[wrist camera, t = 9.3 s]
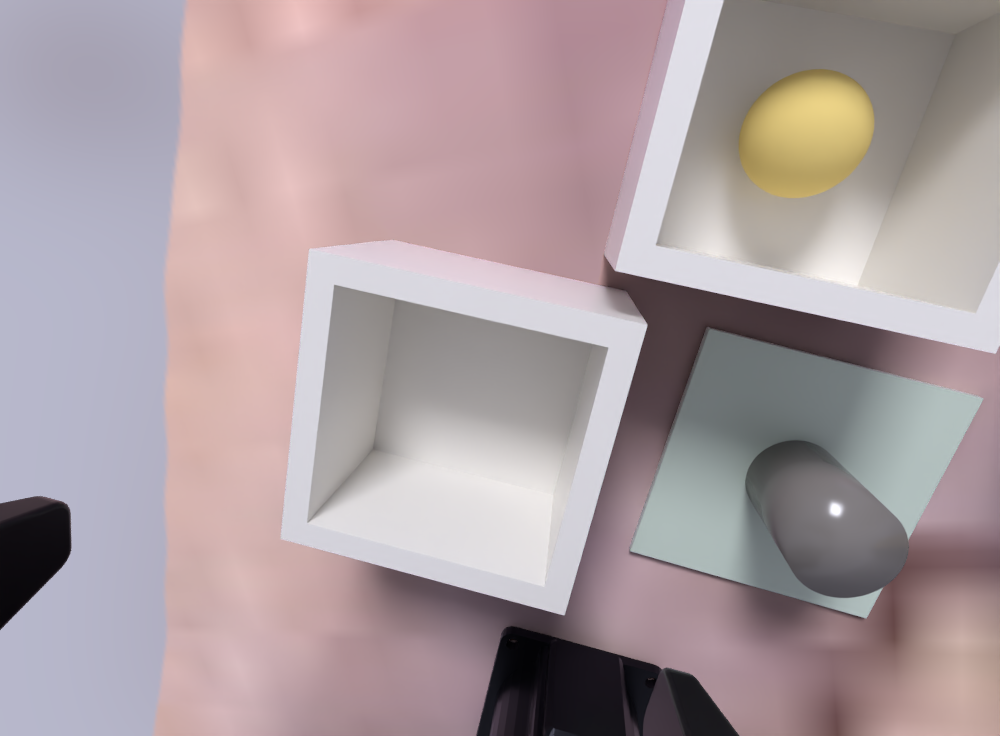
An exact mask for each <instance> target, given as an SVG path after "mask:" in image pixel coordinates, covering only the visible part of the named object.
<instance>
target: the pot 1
mask: <svg viewBox="0 0 1000 736" xmlns="http://www.w3.org/2000/svg"><path fill="white" fill-rule="evenodd" d="M647 326H648V325H647V323H646V321H645V320H644V318H643V317H642V315H641V314H640V312H639V310H638V309H637V307H636V306H635V304H634V303H633V301H632V299H631V298H630V296H629V295H628V293H627V292H626V291H624V290H619V289H615V288H610V287H606V286H601V285H596V284H592V283H587V282H583V281H578V280H574V279H569V278H565V277H560V276H556V275H551V274H547V273H542V272H537V271H533V270H528V269H524V268H519V267H515V266H510V265H506V264H501V263H497V262H492V261H488V260H483V259H478V258H474V257H469V256H465V255H460V254H456V253H451V252H447V251H442V250H438V249H433V248H429V247H424V246H419V245H415V244H410V243H406V242H401V241H397V240H385V241H376V242H367V243H358V244H349V245H340V246H331V247H322V248H313V249H309V256H308V266H307V276H306V287H305V297H304V307H303V317H302V327H301V337H300V347H299V357H298V367H297V377H296V387H295V397H294V407H293V418H292V428H291V438H290V448H289V458H288V468H287V478H286V488H285V498H284V508H283V518H282V528H281V539H283V540H287V541H290V542H294V543H298V544H301V545H305V546H309V547H313V548H316V549H320V550H324V551H327V552H331V553H335V554H338V555H342V556H346V557H350V558H353V559H357V560H361V561H364V562H368V563H372V564H375V565H379V566H383V567H386V568H390V569H394V570H398V571H401V572H405V573H409V574H412V575H416V576H420V577H423V578H427V579H431V580H435V581H438V582H442V583H446V584H449V585H453V586H457V587H460V588H464V589H468V590H472V591H475V592H479V593H483V594H486V595H490V596H494V597H497V598H501V599H505V600H508V601H512V602H516V603H520V604H523V605H527V606H531V607H534V608H538V609H542V610H545V611H549V612H553V613H557V614H560V615H564V616H565V612H566V609H567V605H568V602H569V598H570V595H571V591H572V588H573V584H574V581H575V577H576V574H577V570H578V567H579V563H580V560H581V556H582V553H583V549H584V546H585V542H586V539H587V535H588V532H589V528H590V525H591V521H592V518H593V514H594V511H595V507H596V504H597V500H598V497H599V493H600V490H601V486H602V483H603V479H604V476H605V472H606V469H607V465H608V462H609V458H610V455H611V451H612V448H613V444H614V441H615V437H616V434H617V430H618V427H619V423H620V420H621V416H622V413H623V409H624V406H625V402H626V399H627V395H628V392H629V388H630V385H631V381H632V378H633V374H634V371H635V367H636V364H637V360H638V357H639V353H640V350H641V346H642V343H643V339H644V336H645V333H646V329H647Z"/></svg>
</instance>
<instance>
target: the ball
mask: <svg viewBox="0 0 1000 736" xmlns="http://www.w3.org/2000/svg"><path fill="white" fill-rule="evenodd" d="M873 132H874V111H873V107H872V103H871V101H870V98H869V96H868V95H867V93H866V91H865V90H864V89H863V88H862V86H861V85H860V84H859V83H858V82H856V81H855V80H854V79H852V78H851V77H849V76H847V75H845V74H843V73H840V72H837V71H833V70H827V69H812V70H805V71H801V72H797V73H794V74H792V75H789V76H787V77H785V78H783V79H781V80H779V81H778V82H776V83H774V84H773V85H772V86H770V87H769V88H768V89H767V90H766V91H764V92H763V93H762V94H761V95H760V96H759V97H758V99H757V100H756V101H755V102H754V103H753V105H752V106H751V108H750V109H749V111H748V113H747V115H746V117H745V119H744V121H743V124H742V127H741V131H740V135H739V143H738V144H739V157H740V161H741V164H742V167H743V169H744V171H745V173H746V174H747V176H748V177H749V178H750V180H751V181H752V182H753V183H754V184H755V185H757V186H758V187H759V188H761V189H762V190H764V191H765V192H767V193H770V194H772V195H775V196H779V197H785V198H803V197H809V196H813V195H816V194H819V193H822V192H825V191H827V190H829V189H831V188H832V187H834V186H836V185H837V184H839V183H840V182H842V181H843V180H844V179H845V178H847V177H848V176H849V175H850V174H851V173H852V172H853V171H854V170H855V169H856V167H857V166H858V165H859V163H860V162H861V161H862V159H863V158H864V156H865V154H866V153H867V151H868V148H869V146H870V144H871V140H872V137H873Z"/></svg>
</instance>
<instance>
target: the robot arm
mask: <svg viewBox="0 0 1000 736" xmlns="http://www.w3.org/2000/svg"><path fill="white" fill-rule="evenodd" d="M70 552H71V513H70V509H69V507H68V505H67V504H65V503H64V502H62V501H58V500H54V499H51V498H47V497H42V496H36V497H30V498H25V499H20V500H15V501H10V502H6V503H0V630H1V629H2V628H3V627H4V626H5V624H6V623H8V621H9V620H10V619H11V618H12V617H13V616H14V615H15V614H16V613H17V612H18V611H19V610H20V609H21V608H22V607H23V606H24V605H25V604H26V603H27V602H28V601H29V600H30V599H31V598H32V597H33V596H34V595H35V594H36V593H37V592H38V591H39V590H40V589H41V588H42V587H43V586H44V585H45V584H46V583H47V582H48V581H49V580H50V579H51V578H52V577H53V576H54V575H55V574H56V573H57V572H58V571H59V570H60V569H61V568H62V566H63V565H64V564H65V562H66V561H67V559H68V557H69V555H70ZM509 639H515V640H517V641H518V642H511V641H509ZM648 678H655V679H654V680H648ZM476 736H739V735H738V733H737V732H736V731H735V729H734V728H733V727H732V725H731V724H730V723H729V721H728V720H727V719H726V717H725V716H724V715H723V713H722V712H721V711H720V709H719V708H718V707H717V705H716V704H715V703H714V701H713V700H712V699H711V697H710V696H709V695H708V693H707V692H706V691H705V689H704V688H703V687H702V685H701V684H700V683H699V681H698V680H697V679H696V678H695V677H694V676H693V675H691V674H689V673H685V672H682V671H678V670H674V669H671V668H664V669H661V668H659V667H658V666H656V665H653V664H650V663H646V662H643V661H639V660H635V659H632V658H628V657H624V656H621V655H617V654H613V653H610V652H606V651H602V650H599V649H595V648H591V647H588V646H584V645H580V644H577V643H573V642H570V641H566V640H562V639H559V638H555V637H551V636H548V635H544V634H540V633H537V632H533V631H529V630H526V629H522V628H518V627H512V626H511V627H507V628H506V629H504V630H503V632H502V634H501V638H500V642H499V646H498V650H497V654H496V658H495V662H494V666H493V670H492V674H491V678H490V682H489V687H488V691H487V695H486V699H485V703H484V707H483V711H482V715H481V719H480V723H479V727H478V731H477V735H476Z"/></svg>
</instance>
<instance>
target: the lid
mask: <svg viewBox="0 0 1000 736" xmlns="http://www.w3.org/2000/svg"><path fill="white" fill-rule="evenodd" d="M982 401H983V398H981V397H979V396H977V395H973V394H969V393H965V392H961V391H957V390H953V389H950V388H946V387H942V386H938V385H934V384H930V383H926V382H922V381H918V380H914V379H910V378H906V377H902V376H899V375H895V374H891V373H887V372H883V371H879V370H875V369H871V368H867V367H863V366H859V365H855V364H851V363H847V362H844V361H840V360H836V359H832V358H828V357H824V356H820V355H816V354H812V353H808V352H804V351H800V350H796V349H792V348H789V347H785V346H781V345H777V344H773V343H769V342H765V341H761V340H757V339H753V338H749V337H745V336H741V335H737V334H734V333H730V332H726V331H722V330H718V329H714V328H710V327H707V328H706V331H705V334H704V337H703V339H702V342H701V345H700V348H699V351H698V354H697V356H696V359H695V362H694V365H693V368H692V371H691V374H690V376H689V379H688V382H687V385H686V388H685V391H684V393H683V396H682V399H681V402H680V405H679V408H678V410H677V413H676V416H675V419H674V422H673V425H672V427H671V430H670V433H669V436H668V439H667V442H666V444H665V447H664V450H663V453H662V456H661V459H660V461H659V464H658V467H657V470H656V473H655V476H654V478H653V481H652V484H651V487H650V490H649V493H648V495H647V498H646V501H645V504H644V507H643V510H642V512H641V515H640V518H639V521H638V524H637V527H636V529H635V532H634V535H633V538H632V541H631V544H630V547H629V548H630V551H631V552H634V553H638V554H641V555H645V556H648V557H652V558H655V559H659V560H662V561H666V562H669V563H673V564H677V565H680V566H684V567H687V568H691V569H694V570H698V571H701V572H705V573H708V574H712V575H715V576H719V577H722V578H726V579H729V580H733V581H736V582H740V583H743V584H747V585H750V586H754V587H757V588H761V589H764V590H768V591H771V592H775V593H778V594H782V595H785V596H789V597H792V598H796V599H800V600H803V601H807V602H810V603H814V604H817V605H821V606H824V607H828V608H831V609H835V610H838V611H842V612H845V613H849V614H852V615H856V616H859V617H863V618H867V616H868V615H869V613H870V611H871V609H872V607H873V605H874V603H875V601H876V600H877V598H878V596H879V594H880V592H881V590H882V588H883V587H884V586H886V585H887V584H888V583H890V582H891V581H892V580H893V579H894V578H895V577H896V576H897V575H898V574H899V572H900V571H901V569H902V568H903V566H904V564H905V562H906V559H907V555H908V549H909V543H908V540H909V538H910V536H911V534H912V532H913V530H914V528H915V526H916V525H917V523H918V521H919V519H920V517H921V515H922V513H923V511H924V510H925V508H926V506H927V504H928V502H929V500H930V498H931V496H932V495H933V493H934V491H935V489H936V487H937V485H938V483H939V481H940V480H941V478H942V476H943V474H944V472H945V470H946V468H947V466H948V465H949V463H950V461H951V459H952V457H953V455H954V453H955V451H956V450H957V448H958V446H959V444H960V442H961V440H962V438H963V436H964V435H965V433H966V431H967V429H968V427H969V425H970V423H971V421H972V420H973V418H974V416H975V414H976V412H977V410H978V408H979V406H980V405H981V403H982Z"/></svg>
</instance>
